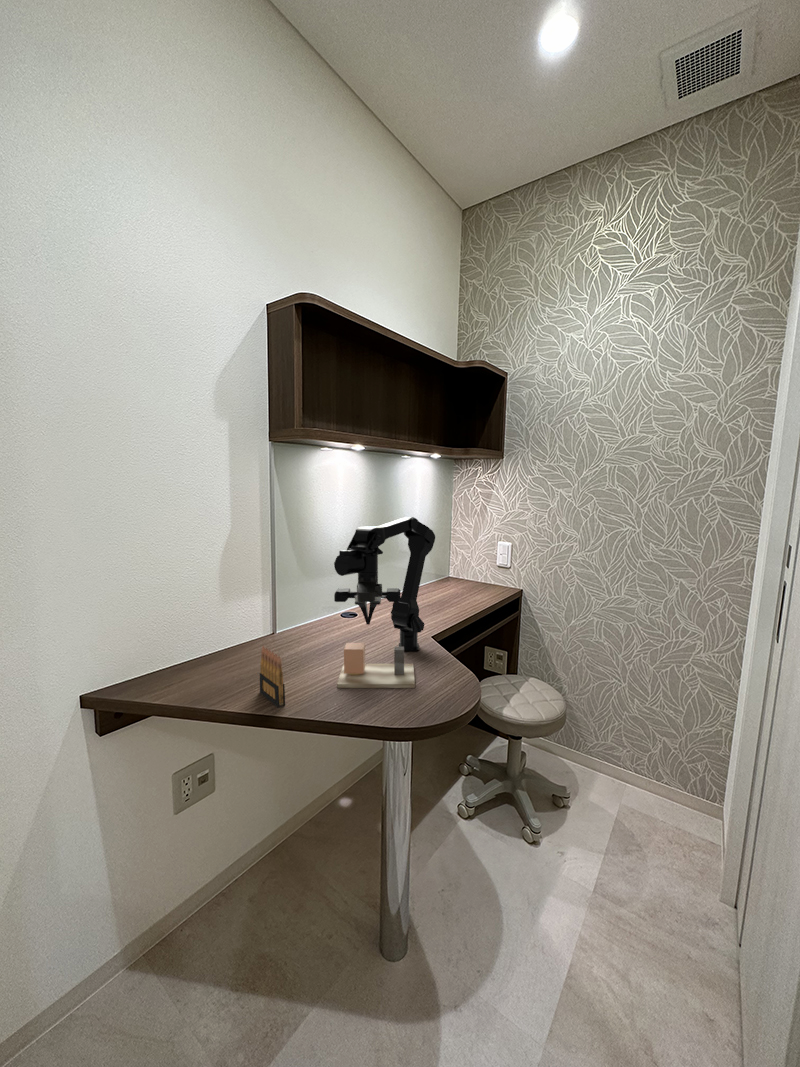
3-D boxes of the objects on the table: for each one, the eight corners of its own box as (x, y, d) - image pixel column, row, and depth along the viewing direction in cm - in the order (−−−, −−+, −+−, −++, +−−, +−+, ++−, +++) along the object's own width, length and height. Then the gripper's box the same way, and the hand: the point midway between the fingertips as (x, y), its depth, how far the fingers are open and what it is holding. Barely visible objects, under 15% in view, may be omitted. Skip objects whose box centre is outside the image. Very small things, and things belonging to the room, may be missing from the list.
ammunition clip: (259, 692, 115) (258, 645, 114) (266, 690, 116) (265, 644, 115) (278, 707, 107) (276, 657, 105) (285, 705, 108) (284, 655, 107)
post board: (343, 667, 131) (343, 639, 130) (413, 667, 131) (413, 639, 130) (337, 687, 117) (336, 657, 116) (414, 687, 117) (414, 657, 116)
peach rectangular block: (346, 666, 127) (346, 642, 126) (365, 666, 127) (365, 643, 126) (344, 673, 121) (343, 649, 121) (363, 673, 121) (363, 649, 121)
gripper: (331, 576, 123) (331, 632, 124) (400, 576, 123) (400, 632, 124) (336, 569, 134) (337, 621, 135) (400, 569, 134) (400, 621, 135)
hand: (368, 624), depth 132 cm, fingers closed
